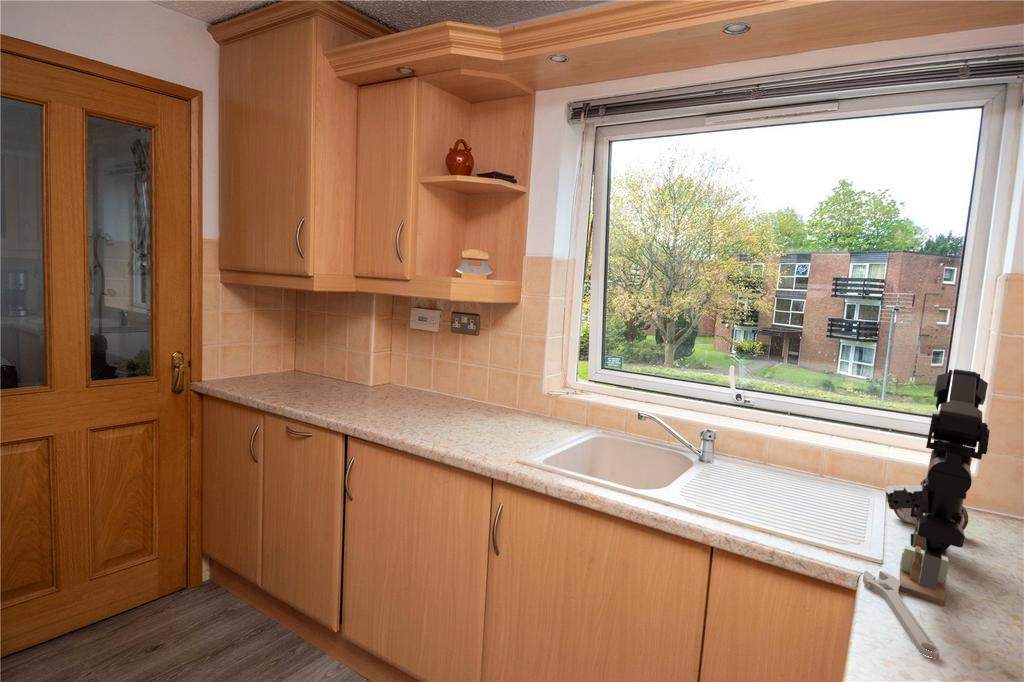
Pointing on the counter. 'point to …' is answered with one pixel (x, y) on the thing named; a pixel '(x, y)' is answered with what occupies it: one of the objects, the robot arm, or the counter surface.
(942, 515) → the robot arm
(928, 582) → the shaft
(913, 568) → the stand
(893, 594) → the adjustable wrench
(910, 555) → the spacer
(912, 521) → the tin
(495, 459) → the counter surface
